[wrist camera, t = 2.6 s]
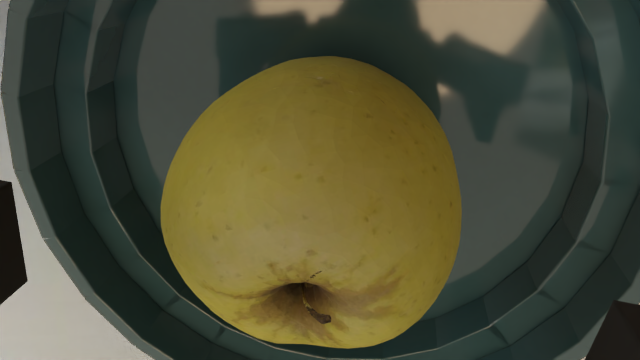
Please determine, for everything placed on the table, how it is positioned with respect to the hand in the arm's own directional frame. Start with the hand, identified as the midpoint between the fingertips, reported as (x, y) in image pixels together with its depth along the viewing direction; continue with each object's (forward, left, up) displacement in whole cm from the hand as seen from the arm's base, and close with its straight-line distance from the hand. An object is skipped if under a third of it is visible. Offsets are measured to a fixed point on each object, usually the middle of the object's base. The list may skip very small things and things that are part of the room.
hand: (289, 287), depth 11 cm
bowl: (0, 0, -8) cm, 8 cm away
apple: (0, 0, -8) cm, 8 cm away
